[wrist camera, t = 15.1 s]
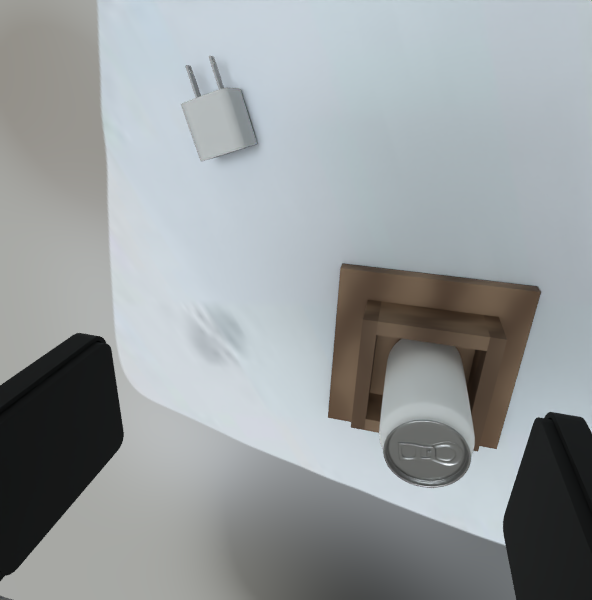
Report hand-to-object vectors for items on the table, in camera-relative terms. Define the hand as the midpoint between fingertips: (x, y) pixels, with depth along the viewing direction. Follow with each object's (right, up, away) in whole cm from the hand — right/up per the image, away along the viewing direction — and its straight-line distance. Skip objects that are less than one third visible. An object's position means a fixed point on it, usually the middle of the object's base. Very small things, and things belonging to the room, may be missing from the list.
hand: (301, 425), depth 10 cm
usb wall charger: (-6, +19, +28) cm, 34 cm away
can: (+11, -3, +31) cm, 33 cm away
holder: (+11, -2, +32) cm, 34 cm away
